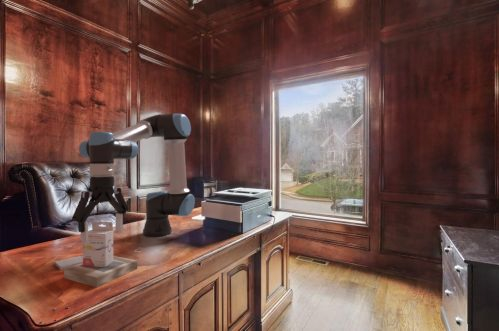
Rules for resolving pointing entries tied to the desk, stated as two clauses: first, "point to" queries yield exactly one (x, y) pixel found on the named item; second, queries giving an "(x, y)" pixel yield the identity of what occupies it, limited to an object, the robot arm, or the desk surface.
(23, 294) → the desk surface
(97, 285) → the ash base block
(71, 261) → the external hard drive
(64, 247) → the desk surface
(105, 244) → the ink cartridge box
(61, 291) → the desk surface
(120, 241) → the desk surface
